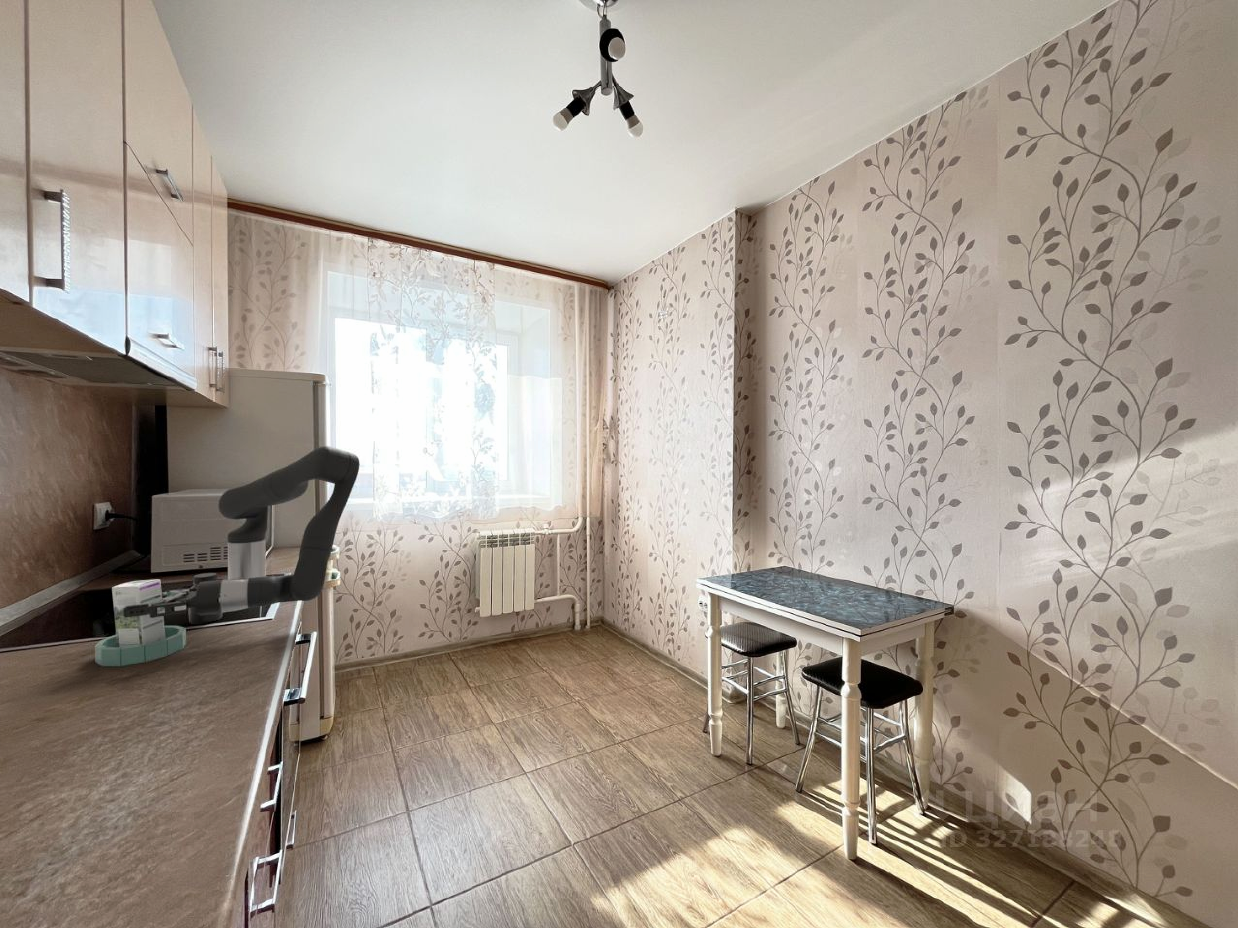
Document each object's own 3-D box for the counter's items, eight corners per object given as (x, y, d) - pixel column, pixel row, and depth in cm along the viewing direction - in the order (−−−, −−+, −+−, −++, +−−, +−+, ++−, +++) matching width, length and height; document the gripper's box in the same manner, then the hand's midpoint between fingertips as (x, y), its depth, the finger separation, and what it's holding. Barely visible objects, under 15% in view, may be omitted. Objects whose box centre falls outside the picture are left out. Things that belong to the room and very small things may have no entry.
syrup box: (167, 641, 113) (162, 577, 112) (142, 652, 107) (137, 584, 106) (142, 643, 113) (136, 579, 112) (115, 653, 107) (110, 586, 106)
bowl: (109, 648, 112) (109, 632, 112) (190, 636, 120) (190, 621, 120) (85, 671, 100) (85, 654, 100) (177, 656, 108) (176, 640, 108)
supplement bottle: (182, 623, 129) (181, 576, 129) (210, 614, 136) (209, 570, 135) (201, 625, 127) (200, 578, 127) (229, 617, 134) (228, 572, 133)
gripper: (228, 573, 123) (139, 582, 115) (219, 586, 111) (119, 597, 103) (229, 603, 123) (140, 614, 115) (220, 620, 111) (119, 633, 103)
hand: (130, 606), depth 109 cm, fingers open, 8 cm apart
